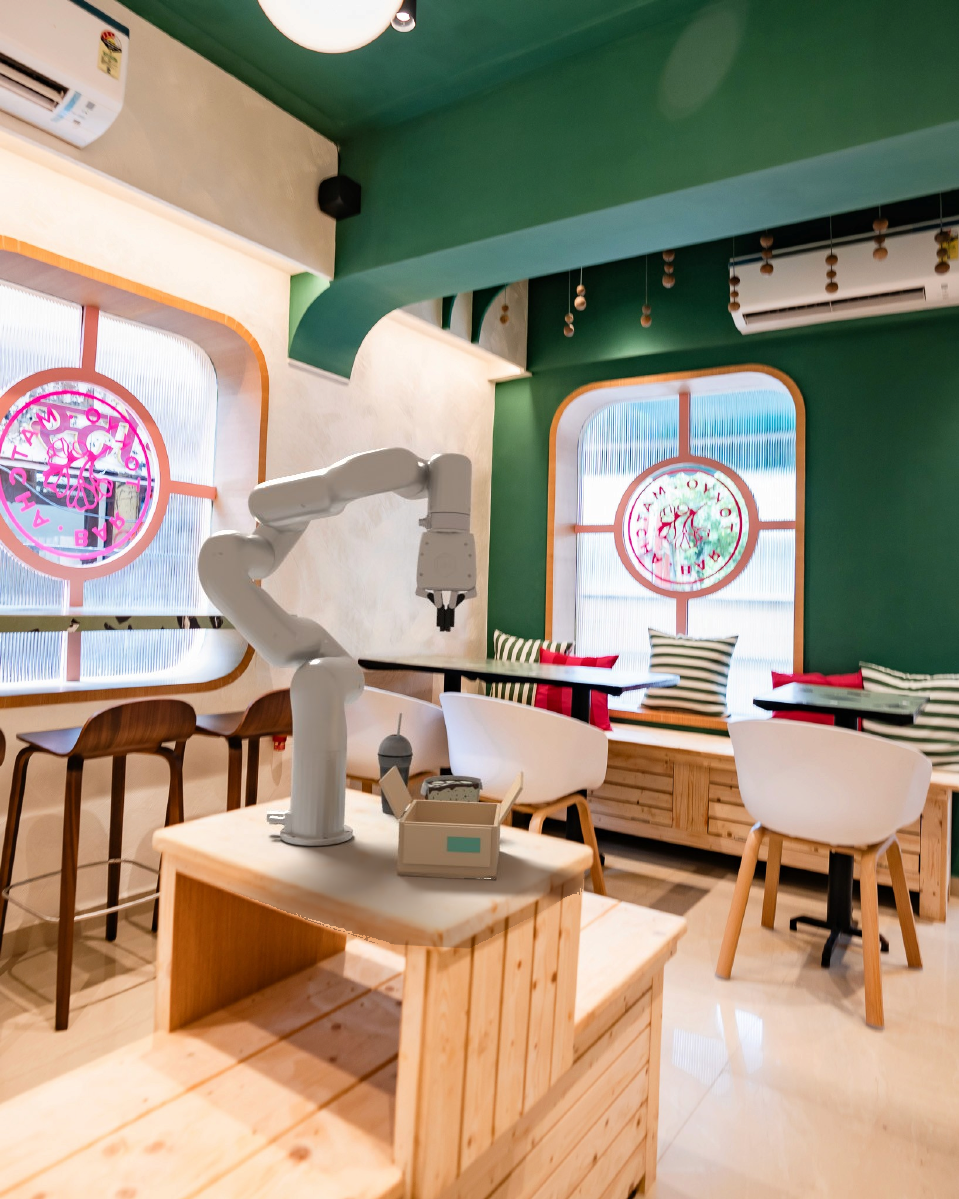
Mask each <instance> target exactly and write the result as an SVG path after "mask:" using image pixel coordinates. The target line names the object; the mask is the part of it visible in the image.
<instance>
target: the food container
mask: <svg viewBox="0 0 959 1199" xmlns="http://www.w3.org/2000/svg"><path fill="white" fill-rule="evenodd" d="M483 789H484V788H483V783H482V779H481V777H480V778H479V777H475V776H467V775H455V774H454V775H450V774H449V775H434V776H429V777H425V779H424V780H423V783H422V784H421V788H420V794H421V795H422V796H424V799H423V800H435V801H458V802H479V800H480V792H481V790H483Z"/></svg>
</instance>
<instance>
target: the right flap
mask: <svg viewBox="0 0 959 1199" xmlns="http://www.w3.org/2000/svg"><path fill="white" fill-rule="evenodd" d="M523 789H524V771H522V770H521V771H519V774H518V775H517V776H516V778H515V780H514V782H513V783H512V785H511V786H510V788H509V790H508V791H507V793H506V794H505V796H504V798H503V799H502V802H501V809H500V816H499V823H500V825H502V824H503V823H504V820H505V819H506V818H507V816H508V814H509V812H510V811H511V809H512V807H513V806H514V805H515V803H516V801H517V799H518V797H519V796H520V795H521V794H522V793H521V792H522V791H523Z"/></svg>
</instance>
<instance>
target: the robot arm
mask: <svg viewBox="0 0 959 1199" xmlns="http://www.w3.org/2000/svg"><path fill="white" fill-rule="evenodd" d="M472 468H473V467H472V462H471V458H469V457H468V456H467V455H464V454H459V453H453V452H443V453H437V454H435V455H433V456H432V457H431V458H430V459H429V460H428V459H424V458H421V457H419V456H418V455H417V454H415V453H414V452H413V451H411V450H409V449H407V448H404V447H399V446H393V447H392V446H391V447H384V448H380V449H376V450H374V449H373V450H370V451H365V452H362V453H361V452H360V453H357V454H354V455H351V456H348V457H346V458H344V459H342V460H340V461H338V462H335V463H334V464H332V465H331V466H329V467H327V468H322V469H318V470H314V471H309V472H305V473H300V474H296V475H291V476H286V477H281V478H276V479H273V480H268V481H265V482H262V483H259V484H258V485H256V486H255V487H253V489H252V490H251V491H250V494H249V496H248V500H247V504H248V505H247V506H248V510H249V512H250V515H251V516H252V517H253V519H254V520H255V521H256V522H257V523H258V524H257V526H256V528H255V529H254V530H253V532H252V533H251V534H250V533H247V532H242V531H238V530H221V531H218V532H215V533H213V534H212V535H210V536H209V537H207V538H206V539H205V541H204V542H203V544H202V546H201V548H200V551H199V554H198V559H197V572H198V573H197V575H198V578H199V579H198V580H199V583H200V586H201V588H202V590H203V591H204V593H205V595H206V596H207V598H208V599H209V601H210V602H211V603H212V605H213V606H214V607H215V608H216V609H217V610H218V611H219V613H220V614H221V615H222V616H223V617H224V618H225V619H227V621H228V622H229V623H230V624H231V625H232V626H233V627H234V628H235V629H236V631H237V632H238V633H239V634H240V635H241V637H243V638H244V640H245V641H247V643H248V644H249V645H250V646H251V647H252V648H253V649H254V650H255V651H256V653H258V655H259V656H260V657H261V658H262V659H263V661H265V663H267V664H269V665H270V666H271V667H274V668H276V669H277V668H278V669H291V668H292V669H293V668H294V669H295V672H294V674H293V675H292V677H291V681H290V687H289V698H290V706H291V707H290V708H291V716H292V718H291V719H292V746H291V747H292V753H291V757H292V758H291V774H290V775H291V776H290V779H291V780H290V781H291V782H290V801H289V802H290V805H289V807H290V808H289V810H285V812H281V811H280V812H279V811H275V810H274V811H272V810H269V811H267V814H266V823H268V824H269V825H281V826H282V827H283V828H281V830H280V832H279V838H280V839H281V840H282V841H283V842H285V843H288V844H291V845H298V846H304V847H305V846H308V847H309V846H310V847H314V846H316V847H317V846H319V847H320V846H330V845H331V846H332V845H336V844H342V843H345V842H346V841H349V840H351V839H352V838H353V836H354V834H353V833H354V829H353V828H352V827H351V826H349V825H347V824H345V818H346V817H345V816H346V814H345V812H346V811H345V810H346V785H347V760H348V759H347V758H348V727H347V718H346V709H345V707H347V706H350V705H352V704H354V703H355V702H357V701H358V700H359V699H360V697H361V696H362V695H363V693H364V690H365V684H366V681H365V679H366V678H365V673H364V671H363V669H362V668H361V666H360V664H359V663H358V662H357V661H356V660H355V658H354V657H352V655H351V654H350V653H349V652H348V651H347V650H346V649H345V648H344V647H343V646H342V645H341V644H340V643H339V642H338V641H337V640H336V639H335V638H334V636H332V634H330V633H329V631H328V630H327V629H326V628H324V627H323V626H322V625H321V624H319V623H318V622H317V621H316V620H313V619H311V618H309V617H304V616H295V615H292V614H290V613H288V612H287V611H286V610H285V609H283V607H281V606H280V604H279V603H278V602H277V601H275V599H274V598H273V597H272V596H271V594H269V592H267V591H266V589H264V588H262V587H261V586H260V585H259V584H257V583H256V581H258V580H259V581H260V580H261V581H262V580H263V579H267V578H268V577H270V576H271V575H272V574H274V573H275V572H276V571H277V570H278V569H279V567H280V566H281V564H282V563H284V561H285V559H286V558H287V556H288V555H290V552H291V551H292V550H293V549H294V548H295V546H296V544H297V543H298V542H299V540H300V539H301V537H303V534H304V533H305V531H306V530H307V528H308V526H309V525H310V523H311V521H315V520H320V519H325V518H331V517H335V516H339V515H340V514H342V513H343V512H344V510H345V508H346V507H347V505H349V504H350V503H352V502H354V501H355V500H359V499H362V498H366V497H370V496H374V495H380V494H385V493H390V492H391V493H393V494H396V495H397V496H399V497H401V498H403V499H406V500H410V501H411V500H413V501H417V500H421V499H422V500H423V499H427V506H426V507H427V511H426V513H427V514H426V516H425V517H424V518H419V519H418V527H423V528H424V529H426V531H423V532H422V533H421V536H420V539H419V540H420V541H419V546H418V552H417V553H418V555H417V565H416V578H415V580H416V581H415V582H416V585H417V586H416V590H415V592H414V593H415V596H417V597H421V598H423V599H427V600H429V601H430V603H432V605H434V606H435V608H436V622H435V623H436V627H437V628H439V632H442V633H443V632H446V633H451V630H452V629H451V628H455V620H456V619H455V618H456V616H455V615H456V613H455V612H456V611H455V610H456V609H457V607H458V606H460V604H462V603H463V601H465V600H466V601H467V600H471V599H475V598H477V597H478V592H477V552H476V551H477V550H476V549H477V548H476V541H475V534H474V533H471V511H472V510H471V506H472V500H471V499H472V476H473V475H472V473H473V471H472V470H473V469H472ZM431 591H432V592H431ZM443 592H450V595H449V601H448V604H447V606H445V604H444V597H443Z"/></svg>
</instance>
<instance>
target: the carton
mask: <svg viewBox="0 0 959 1199" xmlns="http://www.w3.org/2000/svg"><path fill="white" fill-rule="evenodd" d="M501 803H502V802H501ZM501 803H500V802H498V803H497V802H479V801H478V802H458V801H435V800H425V799H412V801H411V802H410V804H409V805H408V807H407V808H406V810H405V811H404V813H403V814H402V816H401V817H400V820H399V821H398V842H397V843H398V844H397V846H398V849H397V872H396V875H397V876H408V877H422V878H423V877H425V878H427V877H428V878H445V879H446V878H448V879H464V878H480V879H479V880H484V878H491V879H496V880H497V876H496V875H498V874H497V873H498V868H497V867H498V866H499V858H500V852H501V851H500V850H501V849H500V848H501V846H500V845H501V824H500V823H499V816H500V809H501Z"/></svg>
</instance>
